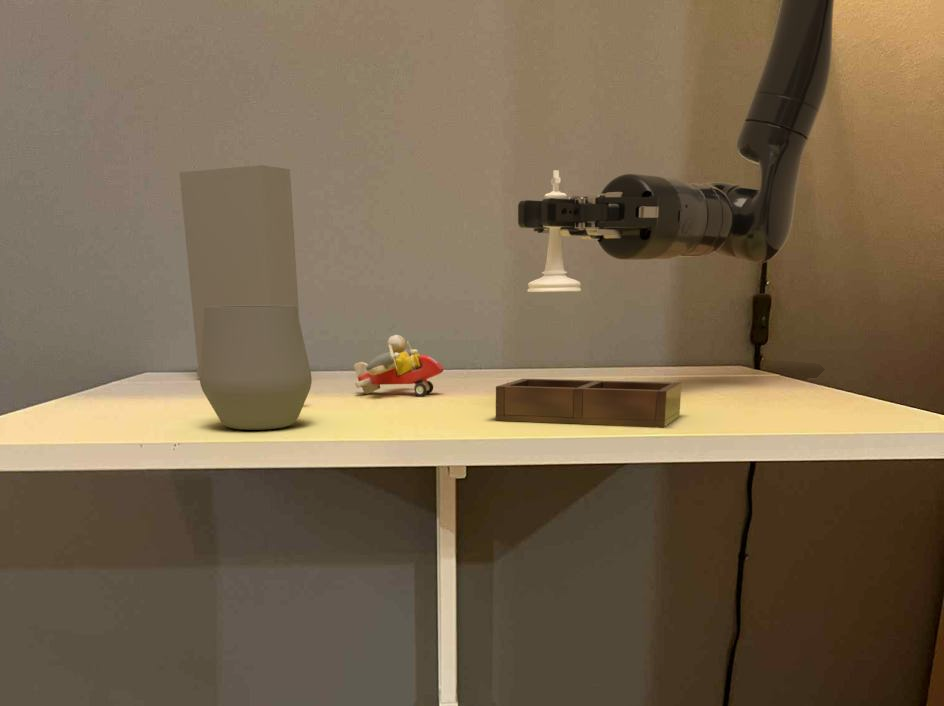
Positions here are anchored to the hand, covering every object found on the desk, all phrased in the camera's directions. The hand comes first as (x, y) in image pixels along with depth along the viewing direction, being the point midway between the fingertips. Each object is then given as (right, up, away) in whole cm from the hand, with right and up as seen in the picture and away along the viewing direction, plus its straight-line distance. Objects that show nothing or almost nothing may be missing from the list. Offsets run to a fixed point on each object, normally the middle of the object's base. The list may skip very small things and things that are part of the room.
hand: (533, 213), depth 85 cm
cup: (-24, -19, +1) cm, 30 cm away
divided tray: (+5, -17, +4) cm, 18 cm away
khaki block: (-34, -3, +45) cm, 56 cm away
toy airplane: (-14, -10, +26) cm, 31 cm away
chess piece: (+2, -6, +4) cm, 7 cm away
